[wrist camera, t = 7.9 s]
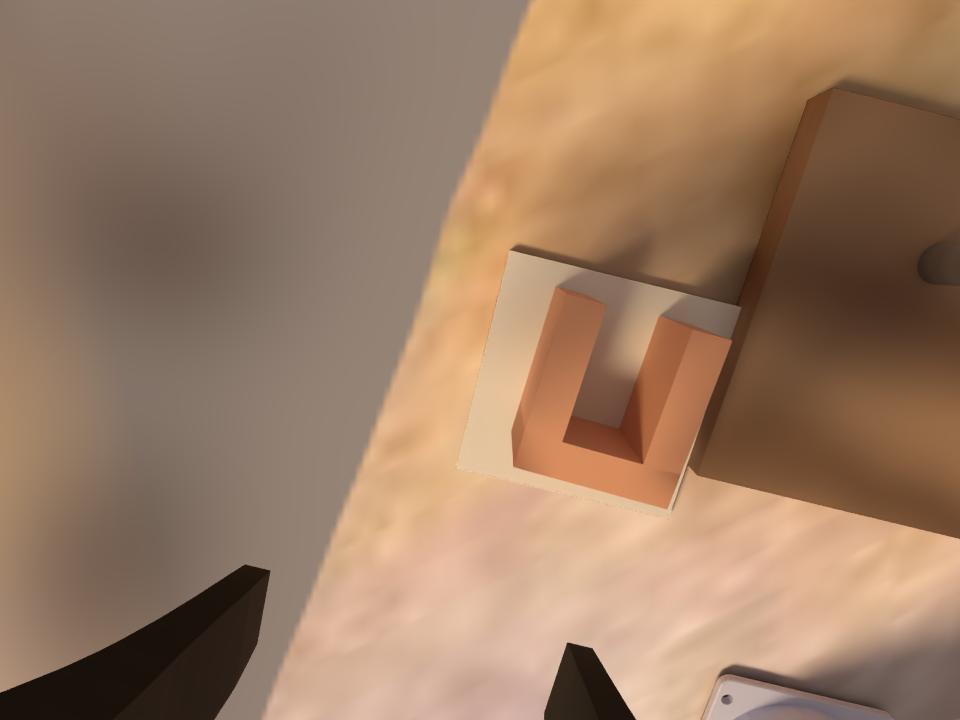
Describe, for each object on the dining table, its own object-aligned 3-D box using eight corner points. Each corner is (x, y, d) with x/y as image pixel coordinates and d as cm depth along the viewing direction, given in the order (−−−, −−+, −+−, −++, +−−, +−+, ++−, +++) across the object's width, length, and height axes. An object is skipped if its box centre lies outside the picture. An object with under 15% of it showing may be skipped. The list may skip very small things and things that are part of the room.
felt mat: (665, 514, 22) (668, 519, 22) (456, 464, 22) (455, 468, 22) (736, 305, 20) (741, 307, 20) (509, 250, 20) (509, 250, 20)
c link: (639, 466, 21) (667, 509, 18) (511, 431, 21) (513, 467, 18) (691, 324, 20) (732, 340, 16) (555, 286, 20) (567, 293, 16)
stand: (942, 522, 22) (1087, 612, 16) (683, 460, 22) (745, 529, 16) (1104, 174, 19) (1347, 144, 13) (807, 100, 19) (932, 39, 13)
